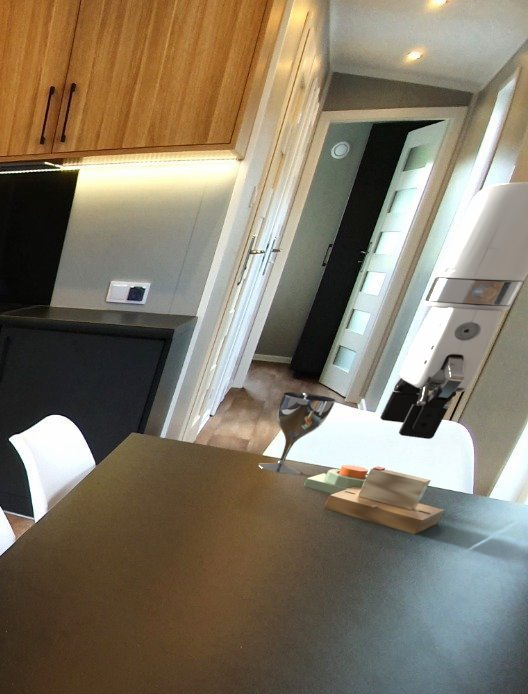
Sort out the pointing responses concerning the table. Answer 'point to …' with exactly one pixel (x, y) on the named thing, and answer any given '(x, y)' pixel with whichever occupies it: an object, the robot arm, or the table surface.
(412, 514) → the holder base
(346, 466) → the button
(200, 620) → the table surface
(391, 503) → the holder
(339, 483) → the button box
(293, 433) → the wine glass
